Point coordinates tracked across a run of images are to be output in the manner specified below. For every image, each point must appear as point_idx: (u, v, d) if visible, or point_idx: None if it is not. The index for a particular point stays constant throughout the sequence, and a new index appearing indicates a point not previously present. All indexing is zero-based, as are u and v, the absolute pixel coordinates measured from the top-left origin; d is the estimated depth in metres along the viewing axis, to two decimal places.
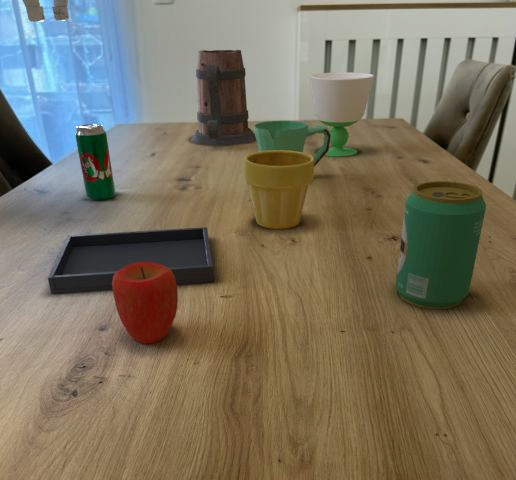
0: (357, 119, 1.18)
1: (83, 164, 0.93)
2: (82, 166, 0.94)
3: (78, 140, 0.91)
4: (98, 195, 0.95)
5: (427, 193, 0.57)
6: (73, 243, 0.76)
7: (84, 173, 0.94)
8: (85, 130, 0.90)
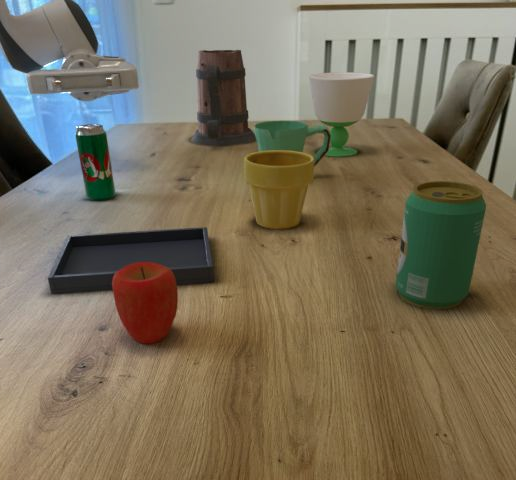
0: (357, 119, 1.18)
1: (83, 164, 0.93)
2: (82, 166, 0.94)
3: (78, 140, 0.91)
4: (98, 195, 0.95)
5: (427, 193, 0.57)
6: (73, 243, 0.76)
7: (84, 173, 0.94)
8: (85, 130, 0.90)
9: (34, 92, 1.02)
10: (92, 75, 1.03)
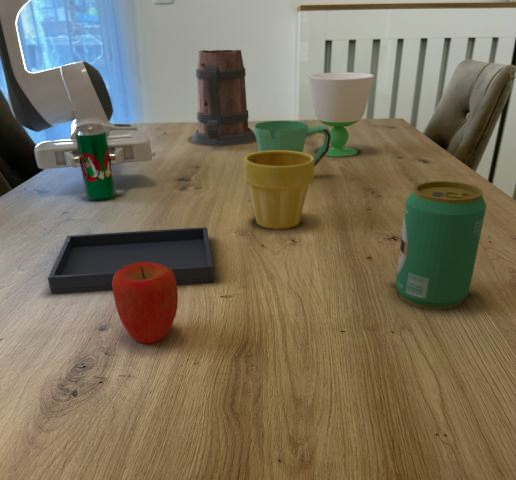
0: (357, 119, 1.18)
1: (83, 164, 0.93)
2: (82, 166, 0.94)
3: (78, 140, 0.91)
4: (98, 195, 0.95)
5: (427, 193, 0.57)
6: (73, 243, 0.76)
7: (84, 173, 0.94)
8: (85, 130, 0.90)
9: (42, 167, 0.97)
10: None
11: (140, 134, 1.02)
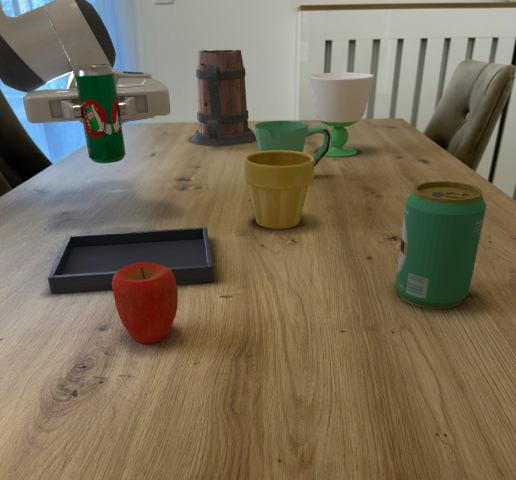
0: (357, 119, 1.18)
1: (85, 114, 0.73)
2: (84, 117, 0.73)
3: (79, 82, 0.71)
4: (104, 155, 0.75)
5: (427, 193, 0.57)
6: (73, 243, 0.76)
7: (86, 127, 0.74)
8: (87, 69, 0.70)
9: (33, 120, 0.76)
10: None
11: (156, 82, 0.82)
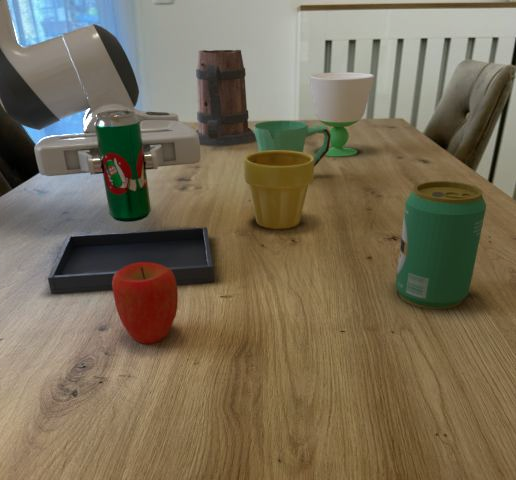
0: (357, 119, 1.18)
1: (106, 169, 0.63)
2: (105, 172, 0.64)
3: (99, 134, 0.62)
4: (127, 214, 0.66)
5: (427, 193, 0.57)
6: (73, 243, 0.76)
7: (107, 183, 0.64)
8: (110, 119, 0.60)
9: (46, 173, 0.67)
10: None
11: (184, 126, 0.72)
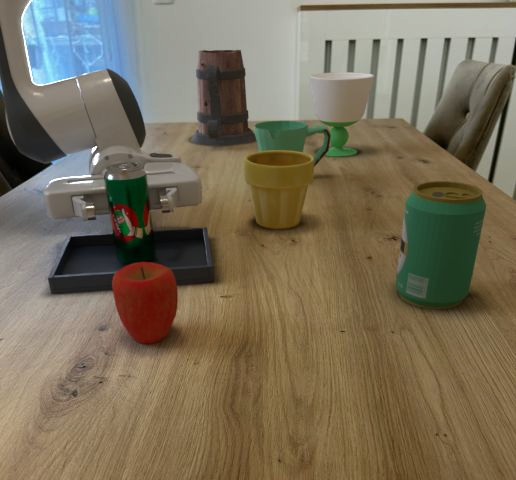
0: (357, 119, 1.18)
1: (114, 218, 0.67)
2: (113, 221, 0.67)
3: (108, 186, 0.65)
4: (133, 259, 0.69)
5: (427, 193, 0.57)
6: (73, 243, 0.76)
7: (115, 231, 0.68)
8: (118, 172, 0.64)
9: (54, 217, 0.70)
10: None
11: (186, 168, 0.75)
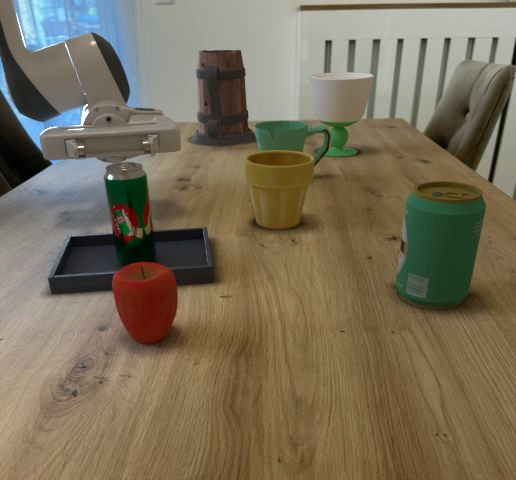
0: (357, 119, 1.18)
1: (114, 218, 0.67)
2: (113, 221, 0.67)
3: (108, 186, 0.65)
4: (133, 259, 0.69)
5: (427, 193, 0.57)
6: (73, 243, 0.76)
7: (115, 231, 0.68)
8: (118, 172, 0.64)
9: (49, 158, 0.79)
10: (123, 136, 0.81)
11: (167, 120, 0.85)
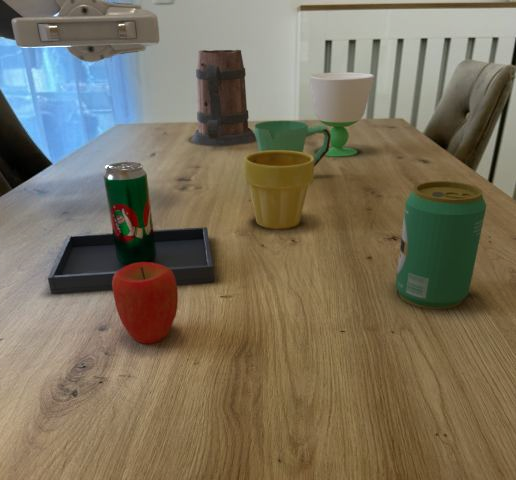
0: (357, 119, 1.18)
1: (114, 218, 0.67)
2: (113, 221, 0.67)
3: (108, 186, 0.65)
4: (133, 259, 0.69)
5: (427, 193, 0.57)
6: (73, 243, 0.76)
7: (115, 231, 0.68)
8: (118, 172, 0.64)
9: (22, 44, 0.77)
10: (99, 23, 0.78)
11: (145, 11, 0.82)
